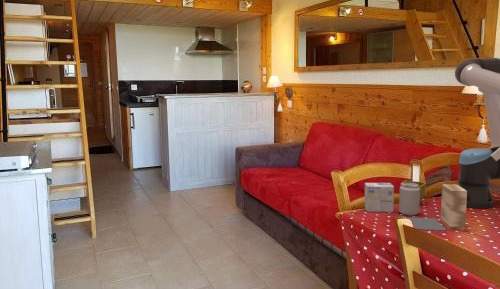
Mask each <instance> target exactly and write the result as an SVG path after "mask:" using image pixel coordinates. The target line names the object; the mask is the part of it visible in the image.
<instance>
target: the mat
mask: <svg viewBox="0 0 500 289" xmlns="http://www.w3.org/2000/svg"><path fill="white" fill-rule="evenodd" d="M407 218H408V219H410V220H411V221H412V223H413V226H414V227H415V228H418V229H421V230H420V231H434V232H437V231H438V232H447V228H445V227H444V226H443V225H442V224H441V222H439V221H438V220H437V218H433V217H429V218H427V217H426V218H425V217H407Z"/></svg>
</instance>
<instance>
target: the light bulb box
mask: <svg viewBox="0 0 500 289" xmlns="http://www.w3.org/2000/svg"><path fill="white" fill-rule="evenodd" d="M394 188H395V186H394V185H393V184H392V183H391V182H364V209H365V210H366V212H367V213H368V212H370V213H393V212H394V204H395V203H394V196H395V194H394V193H395V189H394Z"/></svg>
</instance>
